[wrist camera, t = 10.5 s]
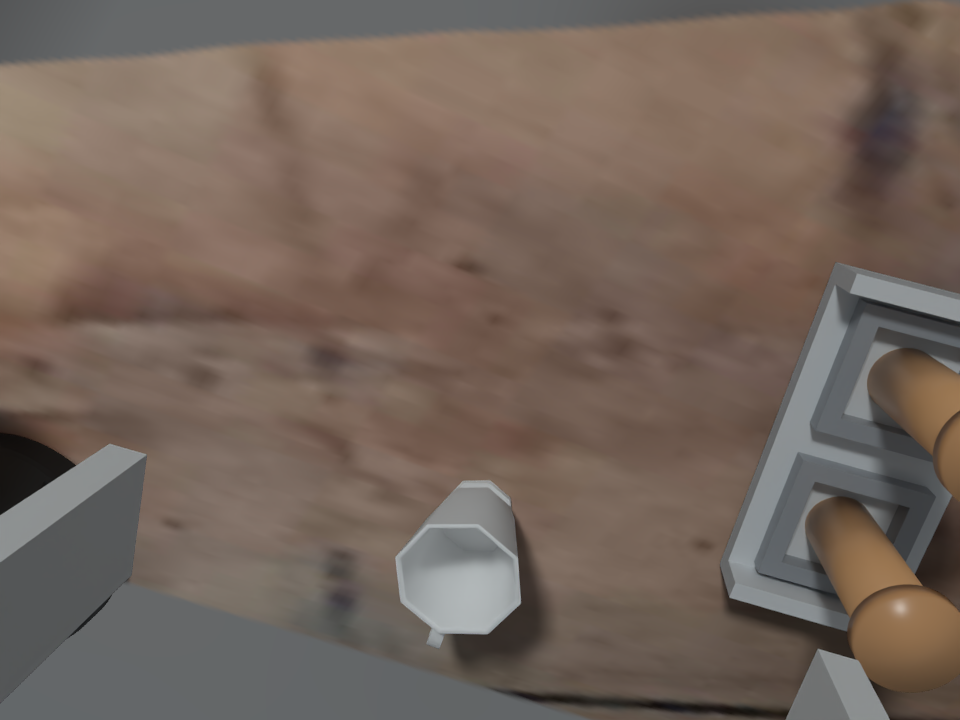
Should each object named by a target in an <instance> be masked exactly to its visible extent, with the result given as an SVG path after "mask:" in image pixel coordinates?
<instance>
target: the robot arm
mask: <svg viewBox="0 0 960 720" xmlns="http://www.w3.org/2000/svg"><path fill="white" fill-rule="evenodd" d="M146 459H147V454H143V453H140V452H136V451H133V450H129V449H126V448H122V447H119V446H115V445H112V444H109V445H107V446H106V447H104V448H102V449H101V450H99V451H98V452H96V453H95V454H93V455H92V456H90V457H89V458H87V459H86V460H84V461H83V462H81V463H80V464H78V465H76V466H75V465H74V464H73V463H72V462H70V461H69V460H68V459H66V458H65V457H64V456H62V455H61V454H59V453H57V452H56V451H54V450H52V449H51V448H49V447H47V446H45V445H43V444H41V443H38V442H36V441H33V440H30V439H27V438H24V437H20V436H16V435H10V434H2V433H0V703H1V702H2V701H3V700H4V699H5V698H6V697H7V696H8V695H9V694H10V693H11V692H12V691H13V690H15V689H16V688H17V687H18V686H19V684H21V682H23V681H24V680H25V679H26V678H27V677H28V676H29V675H30V674H31V673H32V672H33V671H34V670H35V669H36V668H37V667H38V666H39V665H40V664H41V663H42V662H43V661H44V660H45V659H46V658H47V657H48V656H49V655H50V654H51V653H52V652H53V651H54V650H55V649H56V648H58V646H59V645H60V644H62V642H64V641H65V640H66V639H67V638H68V637H70V636H72V635H73V634H75V633H76V632H77V631H79V630H80V629H81V628H82V627H83V626H84V625H85V624H86V623H87V622H89V621H90V620H91V619H92V618H93V617H94V616H95V615H96V614H97V613H98V612H99V611H100V610H101V609H102V608H103V607H104V606H105V605H106V603H107V602H108V600H109V599H110V597H111V596H112V594H113V593H114V592H115V591H116V590H117V589H118V588H119V587H120V586H121V585H122V584H123V583H124V582H125V581H126V580H127V579H128V578H129V577H130V576H131V575H132V567H133V559H134V552H135V544H136V536H137V528H138V521H139V513H140V505H141V497H142V490H143V482H144V474H145V466H146ZM786 720H890V719H889V717H888V715H887V713H886V712H885V710H884V708H883V706H882V704H881V702H880V700H879V698H878V696H877V694H876V692H875V691H874V689H873V687H872V685H871V683H870V681H869V679H868V677H867V675H866V673H865V672H864V670H863V668H862V666H861V664H860V662H859V661H858V660H855V659H851V658H848V657H844V656H841V655H838V654H834V653H831V652H827V651H824V650H820V649H817V652H816V654H815V656H814V658H813V660H812V663H811V665H810V667H809V669H808V671H807V674H806V676H805V678H804V680H803V683H802V685H801V687H800V689H799V691H798V694H797V696H796V698H795V700H794V702H793V705H792V707H791V709H790V711H789V714H788V716H787V718H786Z"/></svg>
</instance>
